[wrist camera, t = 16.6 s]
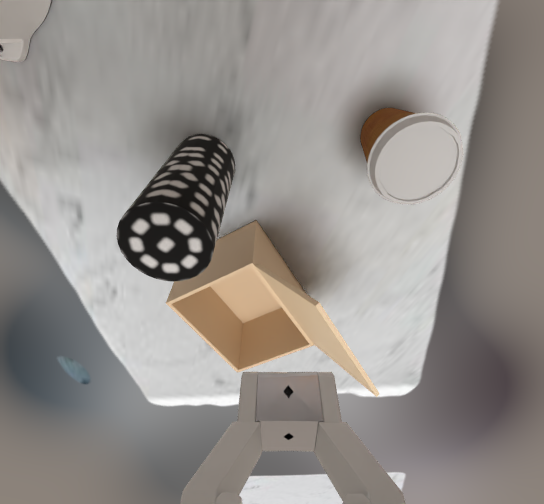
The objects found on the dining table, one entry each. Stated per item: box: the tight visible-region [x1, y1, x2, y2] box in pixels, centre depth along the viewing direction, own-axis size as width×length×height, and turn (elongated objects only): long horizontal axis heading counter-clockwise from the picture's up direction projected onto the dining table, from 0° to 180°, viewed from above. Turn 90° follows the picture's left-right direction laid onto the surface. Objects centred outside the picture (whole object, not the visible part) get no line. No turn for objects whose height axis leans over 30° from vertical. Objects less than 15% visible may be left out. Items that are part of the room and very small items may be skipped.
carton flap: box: [255, 263, 379, 397], centre depth 40 cm, size 13×17×1 cm
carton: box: [166, 220, 314, 372], centre depth 52 cm, size 14×18×11 cm
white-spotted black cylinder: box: [117, 134, 235, 281], centre depth 37 cm, size 8×8×20 cm
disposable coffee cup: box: [360, 108, 463, 204], centre depth 38 cm, size 10×10×12 cm
